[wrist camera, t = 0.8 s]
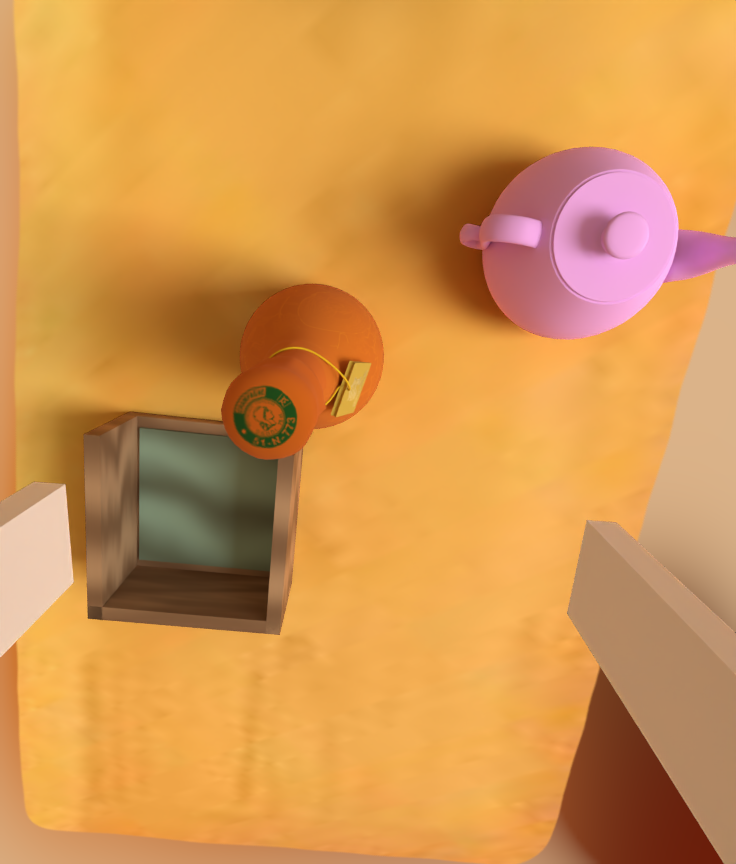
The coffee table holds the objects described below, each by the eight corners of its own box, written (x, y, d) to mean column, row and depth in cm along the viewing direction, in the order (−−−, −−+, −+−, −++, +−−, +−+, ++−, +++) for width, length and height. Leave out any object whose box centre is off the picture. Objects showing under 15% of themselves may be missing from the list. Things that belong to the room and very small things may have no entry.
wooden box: (129, 411, 47) (83, 434, 39) (304, 429, 48) (294, 455, 40) (129, 569, 51) (87, 618, 43) (291, 583, 52) (279, 634, 44)
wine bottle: (308, 418, 48) (232, 602, 19) (245, 327, 46) (49, 374, 17) (398, 361, 47) (467, 462, 18) (339, 264, 44) (304, 197, 15)
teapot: (697, 177, 43) (829, 130, 31) (657, 347, 47) (762, 364, 35) (462, 150, 42) (503, 91, 30) (439, 325, 46) (468, 335, 34)
